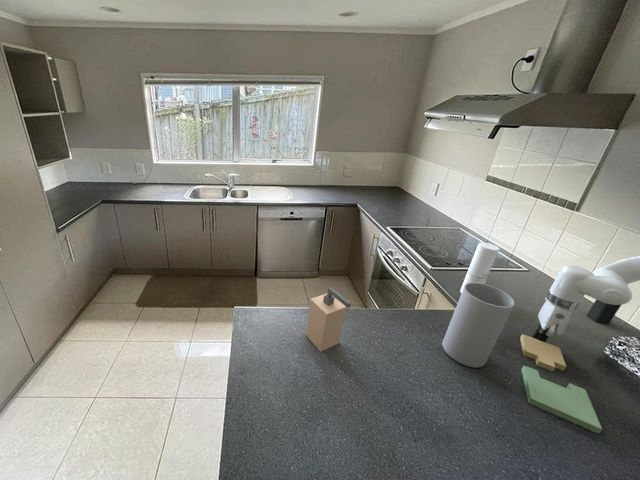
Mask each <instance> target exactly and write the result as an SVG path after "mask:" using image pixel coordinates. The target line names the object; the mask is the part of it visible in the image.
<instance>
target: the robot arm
mask: <svg viewBox="0 0 640 480" xmlns="http://www.w3.org/2000/svg"><path fill="white" fill-rule="evenodd" d="M639 281H640V255H638V256H633V257H627V258H624V259H619V260H617V261H614V262H611V263H610V264H607V265H604V266H601V267H599V268H597V269H595V270H593V271H590V270H588V268H587V269H586V268H584V267H581V266H578V265H572V264H567V265H564V266H562V267H561V269H560V270H559V272H558V274H557V276H556V277H555V279H554V281H553V283H552V285H551V287H550V289H549V290H548V292H547V293H546V296H545V298H544V299H545V302H544V304H543V305H542V306H541V308H540V310H539V312H538V315H537V317H538V320H539V323H538V325H537V328H536V329H535V331H534V333H533V334H532V338H535V339H537V340H540V341H543V342H546V343H547V340H548V339H549V338H552V336H553V334H554V333H555V332H556V335H558V336H561V335H563V333H564V331H565V329H566V328H567V325H568V324H569V322H570V319H571V317H572V314H573V311H576V310H577V308H578V306H579V305H580V303H581V302H582V300H583V299H584V297H585V296H587V297H590V298H592V299H595V300H596V299H597V300H599V301H601V302H604V303H607V304H612V305H621V306H622V305H625V304H628V303H629V302H631V300H632V298H633V293H632V291H631V289H630V287H629V286H628V285H629V284H632V283H635V282H639Z"/></svg>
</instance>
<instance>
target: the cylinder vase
mask: <svg viewBox="0 0 640 480" xmlns="http://www.w3.org/2000/svg"><path fill="white" fill-rule="evenodd" d="M515 304H516V303H515V300H514V299H513V297H512V296H510V295H509V294H508V293H506V292H505V291H503V290H501V289H499V288H497V287H495V286H492V285H489V284H486V283H485V284H482V283H467V284H465V286H464V289H463V291H462V294H461V293H460V297H459V299H458V301H457V305H456V306H455V309H454V312H453V314H452V317H451V318H450V319H451V320H450V321H449V324H448V327H447V329H446V332H445V335H444V338H443V340H442V348H443V350H444V352H445V353H446V354H447V355H448V356H449V357H450V358H451V359H452V360H454V361H455V362H456V363H459V364H461V365H463V366H466V367H469V368H482V367H485V364H486V363H487V361H488V359H489V357H490V355H491V353H492V351H493V349H494V347H495V345H496V343H497V341H498V339H499V336H500V335H501V332H502V330H503V329H504V326H505V324H506V322H507V320H508V318H509V317H510V314H511V313H512V310H513V309H514V306H515Z"/></svg>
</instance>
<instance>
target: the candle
mask: <svg viewBox="0 0 640 480" xmlns="http://www.w3.org/2000/svg"><path fill="white" fill-rule="evenodd" d="M621 306H622V305H612V304H607V303H604V302H601V301H599V300H597V299H595V300H594V302H593V304H592V305H591V307H590V308H589V310H588V312H587V313H586V316H587V317H588V318H589V319H591V320H592V321H593V322H595V323H597V324H605V325H609V324H610V323H611V322H612V320H613V319H614V317H615V316H616V314H617V313H618V312H619V309H621Z"/></svg>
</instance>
